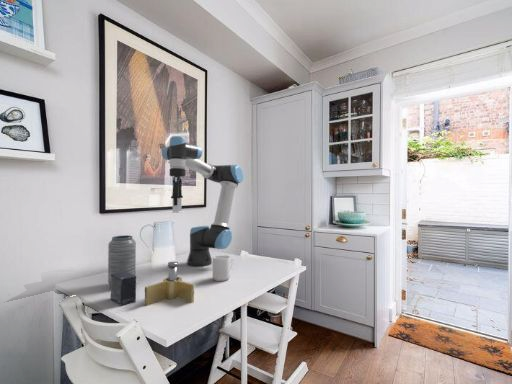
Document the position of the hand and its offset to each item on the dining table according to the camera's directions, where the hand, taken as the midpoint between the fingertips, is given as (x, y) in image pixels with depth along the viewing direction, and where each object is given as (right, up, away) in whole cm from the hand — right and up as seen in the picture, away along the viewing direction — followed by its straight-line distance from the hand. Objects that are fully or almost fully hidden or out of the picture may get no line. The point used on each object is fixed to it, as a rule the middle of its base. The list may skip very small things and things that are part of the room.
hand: (177, 211), depth 132 cm
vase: (-25, -35, -5) cm, 43 cm away
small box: (-15, -35, -22) cm, 44 cm away
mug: (+22, -35, +7) cm, 42 cm away
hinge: (+3, -35, -20) cm, 40 cm away
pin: (+3, -35, -17) cm, 39 cm away
